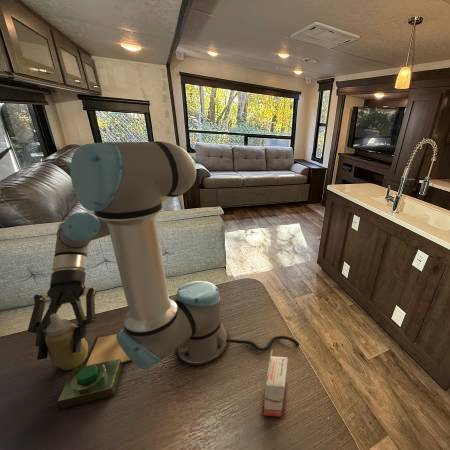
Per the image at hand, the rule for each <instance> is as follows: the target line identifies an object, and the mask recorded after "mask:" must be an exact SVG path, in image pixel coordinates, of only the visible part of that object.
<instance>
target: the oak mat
mask: <svg viewBox="0 0 450 450" xmlns="http://www.w3.org/2000/svg"><path fill="white" fill-rule="evenodd" d="M116 335H117V333H115V334H109V335H104V336H98V337H97V339H96V342H95V344H94V346H93V349H92V351H91V353H90V355H89V358H88V359H87V362H86V364H85V366H88V365H93V364H97V363H102V362H107V361H111V360H116V359H121V362H122V364H123V363H128V362H133V361H132V360H131V359H130V358H129V357H128V356H127V355H126V353H125V352H124V351H123V349H122V348H121V346H120V345H119V343H118V341H117V339H116Z"/></svg>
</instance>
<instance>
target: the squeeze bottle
mask: <svg viewBox="0 0 450 450" xmlns="http://www.w3.org/2000/svg"><path fill="white" fill-rule="evenodd" d="M50 322H51V324H50V325H49V326H48V327H47V328H46V331H47V335H46V336H45V342H46V345H47V348H48V354H49V358H50V362H51V364H52V365H54V366H56V367H57V368H59V369H61V370H62V371H70V370H73V369H74V368H79V367H80V366H81V365H82V364H83V363H84V362H85V361H87V360H86V359H87V357H88V351H89V343H88V342H87V340H86V339H85V338H82V339H81V350H80V352H75V353H72V350H73V340H74V330H75V327H78V326H77V325H76V324H74V323H71V322H70V320H69V319H66V318H61V317H60V316H59V315H58V314H57V313H56V314H52V315H50Z"/></svg>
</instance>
